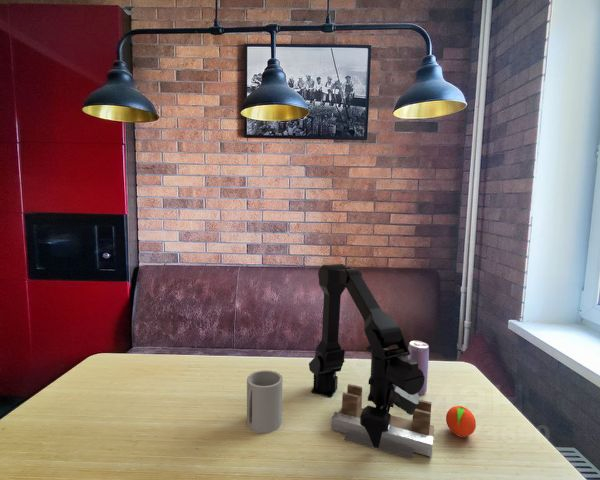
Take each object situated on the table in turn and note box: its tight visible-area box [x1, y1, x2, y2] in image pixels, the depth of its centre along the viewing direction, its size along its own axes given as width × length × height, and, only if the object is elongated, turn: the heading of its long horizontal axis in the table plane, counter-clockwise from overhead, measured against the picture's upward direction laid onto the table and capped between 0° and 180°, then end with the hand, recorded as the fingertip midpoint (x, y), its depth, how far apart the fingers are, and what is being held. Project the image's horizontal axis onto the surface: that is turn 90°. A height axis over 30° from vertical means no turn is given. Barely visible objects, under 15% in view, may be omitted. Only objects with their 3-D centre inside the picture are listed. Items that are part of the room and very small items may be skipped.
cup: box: [246, 369, 284, 434], centre depth 93 cm, size 9×9×12 cm
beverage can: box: [407, 340, 430, 396], centre depth 110 cm, size 6×6×15 cm
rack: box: [338, 383, 435, 438], centre depth 94 cm, size 24×6×7 cm, turn 67°
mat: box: [343, 433, 414, 460], centre depth 87 cm, size 16×7×1 cm, turn 67°
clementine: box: [445, 405, 477, 438], centre depth 90 cm, size 8×7×7 cm
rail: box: [330, 411, 434, 458], centre depth 87 cm, size 24×3×3 cm, turn 67°
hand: (379, 435), depth 87 cm, fingers open, 9 cm apart
